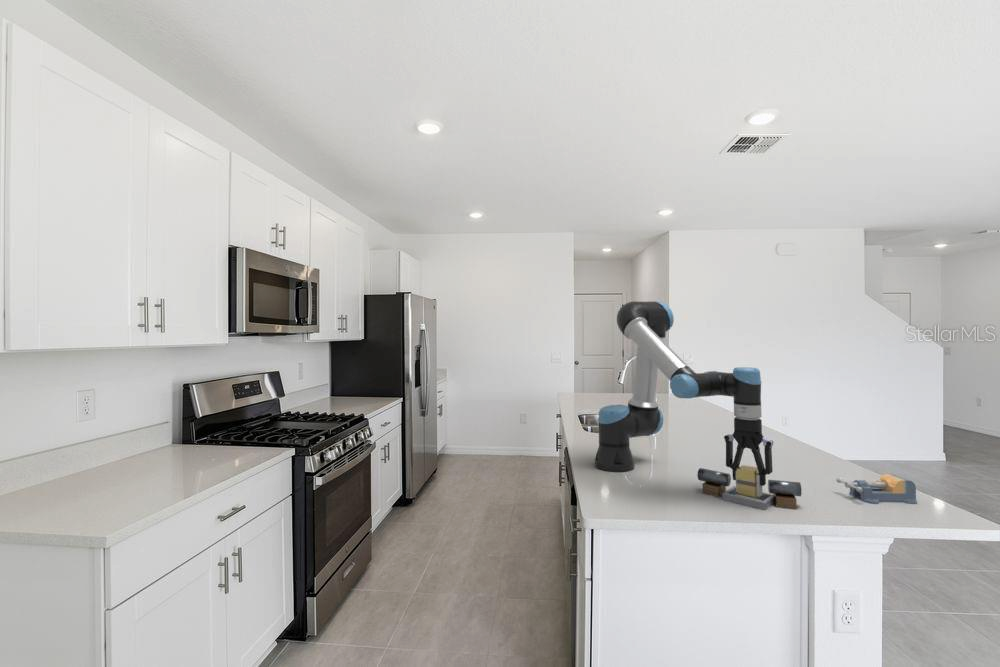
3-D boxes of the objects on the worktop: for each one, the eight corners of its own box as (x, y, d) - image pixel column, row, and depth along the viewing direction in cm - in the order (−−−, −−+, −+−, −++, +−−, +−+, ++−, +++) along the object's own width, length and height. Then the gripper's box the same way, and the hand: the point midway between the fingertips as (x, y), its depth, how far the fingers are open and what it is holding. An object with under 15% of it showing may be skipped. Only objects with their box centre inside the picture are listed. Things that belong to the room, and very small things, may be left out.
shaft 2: (771, 506, 137) (770, 482, 137) (767, 499, 143) (767, 476, 143) (802, 509, 134) (802, 485, 134) (797, 502, 140) (797, 479, 140)
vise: (894, 493, 147) (893, 472, 147) (921, 505, 137) (921, 482, 137) (835, 492, 148) (835, 472, 148) (858, 504, 138) (858, 482, 138)
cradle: (722, 499, 143) (722, 493, 143) (734, 492, 150) (734, 486, 150) (765, 510, 135) (765, 503, 135) (775, 501, 141) (775, 495, 141)
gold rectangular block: (737, 494, 142) (736, 468, 142) (743, 490, 146) (742, 465, 146) (755, 498, 138) (754, 471, 139) (761, 494, 142) (760, 468, 142)
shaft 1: (696, 491, 151) (696, 470, 151) (704, 487, 155) (703, 466, 155) (724, 498, 145) (724, 475, 145) (732, 493, 149) (731, 471, 149)
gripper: (712, 415, 146) (713, 489, 146) (776, 423, 133) (778, 504, 133) (721, 412, 152) (723, 483, 151) (784, 419, 138) (786, 497, 138)
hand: (749, 493), depth 142 cm, fingers closed on gold rectangular block, 5 cm apart
